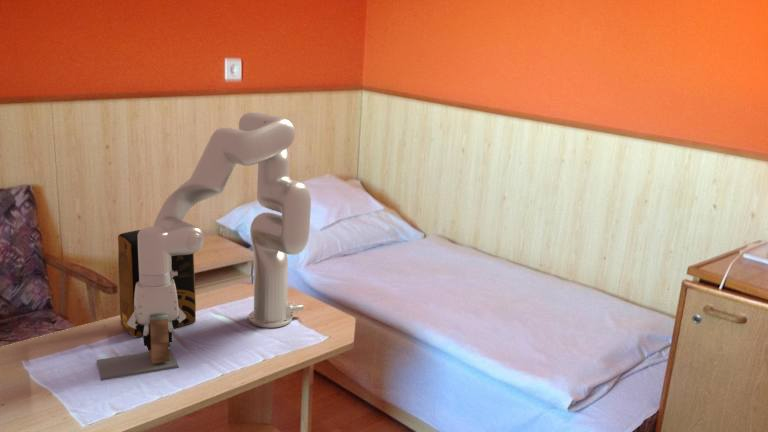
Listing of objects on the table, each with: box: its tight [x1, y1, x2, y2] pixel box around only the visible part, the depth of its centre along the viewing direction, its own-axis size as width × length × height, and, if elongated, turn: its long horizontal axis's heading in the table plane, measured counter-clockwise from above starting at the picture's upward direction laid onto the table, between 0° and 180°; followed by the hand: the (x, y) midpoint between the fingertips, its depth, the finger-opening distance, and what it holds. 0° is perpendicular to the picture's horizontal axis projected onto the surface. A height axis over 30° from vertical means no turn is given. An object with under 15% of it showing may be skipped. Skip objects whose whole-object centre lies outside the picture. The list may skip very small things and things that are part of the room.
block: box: [147, 314, 170, 364], centre depth 180 cm, size 4×7×12 cm, turn 26°
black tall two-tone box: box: [117, 229, 197, 338], centre depth 199 cm, size 11×19×28 cm, turn 130°
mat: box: [96, 347, 180, 381], centre depth 180 cm, size 18×10×1 cm, turn 116°
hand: (158, 345), depth 181 cm, fingers closed on block, 4 cm apart
